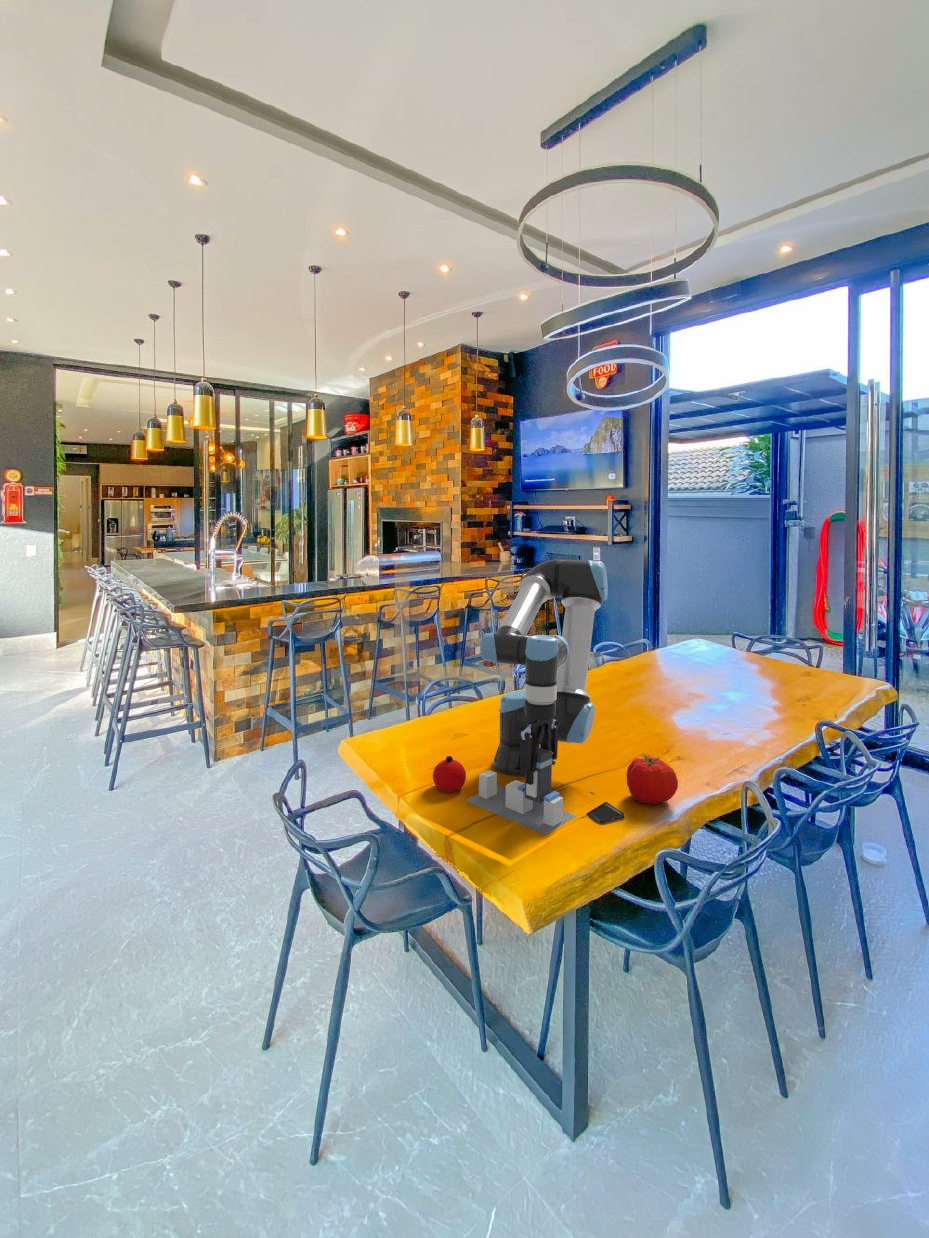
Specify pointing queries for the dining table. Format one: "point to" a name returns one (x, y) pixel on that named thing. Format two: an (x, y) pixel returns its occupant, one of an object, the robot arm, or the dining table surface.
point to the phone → (606, 813)
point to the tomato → (651, 780)
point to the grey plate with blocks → (520, 804)
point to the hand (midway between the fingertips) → (538, 792)
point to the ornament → (449, 775)
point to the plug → (542, 775)
